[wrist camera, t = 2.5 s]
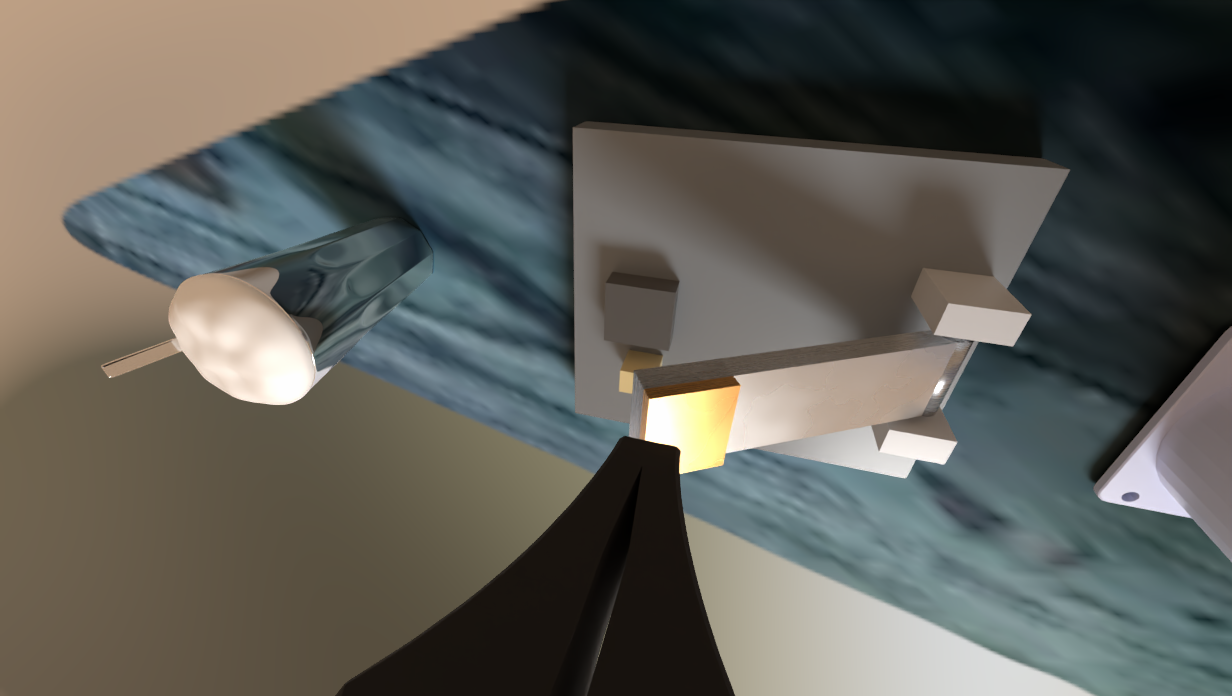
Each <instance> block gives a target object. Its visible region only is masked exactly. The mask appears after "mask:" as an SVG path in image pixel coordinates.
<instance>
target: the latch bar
mask: <svg viewBox="0 0 1232 696" xmlns="http://www.w3.org/2000/svg"><path fill="white" fill-rule="evenodd" d="M973 342H974V341H973V340H966V339H959V338H953V337H946V336H939V335H934V334H933V333H932V331H931V330H927V331H919V332H912V333H905V334H897V335H890V336H882V337H875V338H868V339H860V340H853V341H846V342H838V343H831V344H823V345H816V346H809V347H801V348H794V349H787V350H779V351H772V352H764V353H757V354H750V355H742V356H735V357H727V358H720V359H713V360H705V361H698V362H691V363H683V364H676V365H668V366H661V367H654V368H646V369H639V370H634V375H633V389H632V403H631V416H630V430H629V437H632V438H637V439H642V440H647V441H652V442H657V443H662V444H667V445H672V446H677V447H678V448H679V450H680V451H681V456H680V473H685V472H690V471H695V470H700V469H706V468H711V467H716V466H721V465H723V462H724V457H725V453H729V452H734V451H740V450H745V449H750V448H755V447H761V446H766V445H771V444H776V443H782V442H787V441H792V440H797V439H803V438H808V437H813V436H818V435H824V434H829V433H834V432H839V431H845V430H850V429H855V428H861V427H866V426H871V425H876V424H882V423H887V422H892V421H897V420H903V419H908V418H913V417H918V416H925V417H931V416H934V415H935V414H936V412H937V411H938V409H939V407H940V405H941V403H942V401H943V399H944V397H945V395H946V393H947V392H948V390H949V388H950V386H951V384H952V382H953V380H954V378H955V376H956V374H957V373H958V371H959V369H960V367H961V365H962V363H963V361H964V359H965V357H966V355H967V354H968V352H969V350H970V348H971V346H972V344H973Z"/></svg>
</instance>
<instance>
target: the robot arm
mask: <svg viewBox="0 0 1232 696" xmlns="http://www.w3.org/2000/svg"><path fill="white" fill-rule="evenodd" d="M680 456H681V451H680V450H679V448H678V447H677V446H672V445H667V444H662V443H657V442H652V441H647V440H642V439H637V438H632V437H627V436H624V437H622V438H620V439H619V441H618V442H617V444H616V446H615V447H614V449H613V450H612V452H611V453H610V455H609V456H608V458H607V459H606V461H605V462H604V463H603V465H602V466H601V467H600V469H599V470H598V471H597V473H596V474H595V475H594V477H593V478H592V479H591V480H590V482H589V483H588V484H587V485H586V486H585V488H584V489H583V490H582V491H581V492H580V494H579V495H578V496H577V497H576V498H575V500H574V501H573V502H572V503H571V504H570V505H569V507H568V508H567V509H566V510H565V511H564V512H563V513H562V514H561V515H560V516H559V517H558V518H557V519H556V520H555V521H554V523H553V524H552V525H551V526H550V527H549V528H548V529H547V530H546V531H545V532H544V533H543V534H542V535H541V536H540V537H539V538H538V539H537V540H536V541H535V542H534V543H533V544H532V545H531V546H530V547H529V548H528V549H527V550H526V551H525V552H523V553H522V554H521V555H520V556H519V557H518V558H517V559H516V560H515V561H514V562H512V563H511V564H510V565H509V566H508V567H507V568H506V569H505V570H503V571H502V572H501V573H500V574H498V575H497V576H496V577H495V578H494V579H493V580H491V581H490V582H489V583H488V584H487V585H485V586H484V587H483V588H482V589H481V590H479V591H478V592H477V593H476V594H474V595H473V596H472V597H471V598H469V599H468V600H467V601H466V602H464V603H463V604H462V605H460V606H459V607H457V608H456V609H455V610H453V611H452V612H450V613H449V614H448V615H446V616H445V617H444V618H442V619H441V620H439V621H438V622H437V623H435V624H434V625H433V626H431V627H430V628H428V629H427V630H426V631H424V632H423V633H422V634H420V635H419V636H417V637H416V638H414V639H413V640H412V641H410V642H408V643H407V644H405V645H404V646H402V647H401V648H399V649H398V650H396V651H395V652H393V653H391V654H390V655H388V656H387V657H385V658H384V659H382V660H380V661H379V662H377V663H376V664H374V665H373V666H371V667H370V668H368V669H366V670H365V671H363V672H362V673H360V674H358V675H357V676H355V677H354V678H352V679H351V680H349V681H348V682H347V683H345V684H344V686H343V687H342V688H341V689H340V690H339V692H338V693H337V694H336V695H335V696H735V694H734V692H733V689H732V686H731V683H730V681H729V678H728V676H727V673H726V670H725V667H724V665H723V662H722V659H721V657H720V654H719V651H718V648H717V645H716V642H715V639H714V636H713V633H712V629H711V627H710V624H709V620H708V617H707V613H706V610H705V607H704V603H703V600H702V596H701V593H700V589H699V585H698V581H697V577H696V573H695V570H694V565H693V561H692V556H691V552H690V547H689V542H688V537H687V532H686V526H685V519H684V513H683V506H682V499H681V487H680ZM1093 489H1094V492H1095V493H1096V494H1097V496H1098V497H1099V498H1100V499H1101V500H1103V501H1106V502H1111V503H1116V504H1121V505H1127V506H1132V507H1137V508H1142V509H1147V510H1152V511H1158V512H1163V513H1168V514H1173V515H1178V516H1183V517H1189V518H1192V519H1193V520H1194V521H1195V522H1196V523H1197V524H1198V525H1199V526H1200V528H1201V529H1202V530H1203V531H1204V532H1205V533H1206V534H1207V535H1208V536H1209V537H1210V539H1211V540H1212V541H1213V542H1214V543H1215V544H1216V545H1217V546H1218V547H1219V548H1220V550H1221V551H1222V552H1223V553H1224V554H1225V555H1226V556H1227V557H1228V558H1229V559H1230V561H1231V562H1232V326H1231V327H1230V328H1229V329H1228V330H1226V331H1225V332H1224V333H1223V335H1222V336H1221V337H1220V338H1219V339H1218V340H1217V342H1216V343H1215V344H1214V345H1213V346H1212V348H1211V349H1210V350H1209V351H1208V352H1207V353H1206V355H1205V356H1204V357H1203V358H1202V359H1201V360H1200V362H1199V363H1198V364H1197V365H1196V366H1195V368H1194V369H1193V370H1192V371H1191V372H1190V373H1189V375H1188V376H1187V377H1186V378H1185V379H1184V380H1183V382H1182V383H1181V384H1180V385H1179V386H1178V387H1177V389H1176V390H1175V391H1174V392H1173V393H1172V395H1171V396H1170V397H1169V398H1168V399H1167V400H1166V402H1165V403H1164V404H1163V405H1162V406H1161V407H1160V409H1159V410H1158V411H1157V412H1156V413H1155V415H1154V416H1153V417H1152V418H1151V419H1150V420H1149V422H1148V423H1147V424H1146V425H1145V426H1144V427H1143V429H1142V430H1141V431H1140V432H1139V433H1138V435H1137V436H1136V437H1135V438H1134V439H1133V440H1132V442H1131V443H1130V444H1129V445H1128V446H1127V447H1126V449H1125V450H1124V451H1123V452H1122V453H1121V454H1120V456H1119V457H1118V458H1117V459H1116V460H1115V462H1114V463H1113V464H1112V465H1111V466H1110V467H1109V469H1108V470H1107V471H1106V472H1105V473H1104V474H1103V476H1102V477H1101V478H1100V479H1099V480H1098V482H1097V483H1096V484H1095V486H1094V488H1093ZM1128 492H1129V493H1128ZM610 616H611V617H610ZM609 619H610V620H609ZM608 622H609V624H608ZM607 625H608V628H607ZM606 628H607V631H606ZM605 631H606V634H605ZM604 634H605V638H604V641H603V637H604ZM602 641H603V644H602ZM601 644H602V648H601V651H600V647H601ZM599 651H600V655H599V658H598V654H599ZM597 658H598V661H597ZM596 662H597V664H596ZM595 666H596V667H595ZM594 670H595V671H594Z"/></svg>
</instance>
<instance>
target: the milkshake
mask: <svg viewBox="0 0 1232 696" xmlns="http://www.w3.org/2000/svg"><path fill="white" fill-rule="evenodd" d="M432 273H433V252H432V250H431V248H430V247H429V245H428V243H427V242H426V240H425V238H424V236H423V235H422V233H421V231H419V230H418V229H416V228H415V227H413V226H412V225H410V224H409V223H407V222H406V221H404V220H403V219H401V218H376V219H373V220H370V221H367V222H364V223H361V224H358V225H355V226H352V227H349V228H346V229H343V230H340V231H337V232H334V233H332V234H329V235H326V236H323V237H320V238H317V239H314V240H311V241H308V242H305V243H302V244H299V245H296V246H293V247H290V248H287V249H285V250H282V251H278V252H275V253H272V254H269V255H265V256H262V257H259V258H255V259H252V260H249V261H246V262H242V263H239V264H236V265H232V266H229V267H226V268H222V269H219V270H216V271H212V272H209V273H206V274H203V275H198V276H194V277H191V278H189V279H187V280H185V281H184V282H182V283H181V285H180V286H179V287H178V289H177V291H176V294H175V296H174V297H173V300H172V302H171V304H170V308H169V323H170V326H171V328H172V330H173V332H174V334H175V335H176V338H174V339H171V340H168V341H165V342H163V343H160V344H157V345H154V346H152V347H149V348H146V349H144V350H141V351H138V352H135V353H133V354H130V355H127V356H125V357H122V358H119V359H116V360H114V361H111V362H108V363H106V364H103V365H102V366H101V367H102V369H103V370H104V372H105V373H106V374H107V375H108V376H109V377H110V378H112V377H116V376H118V375H121V374H124V373H126V372H129V371H132V370H134V369H137V368H139V367H142V366H145V365H147V364H150V363H152V362H155V361H157V360H160V359H163V358H166V357H168V356H171V355H173V354H176V353H179V352H181V351H183V352H184V354H185V355H186V356H187V357H188V358H189V360H190V361H191V362H192V363H193V364H194V365H195V367H196V368H197V370H198V371H199V372H200V373H201V375H202V376H203V377H204V378H205V379H206V380H207V381H209V382H211V383H212V384H213V385H215V386H217V387H218V388H220V389H221V390H223V391H225V392H226V393H228V394H230V395H231V396H233V397H235V398H238V399H241V400H245V401H249V402H255V403H265V404H274V405H284V404H289V403H293V402H295V401H297V400H299V399H301V398H302V397H303V396H304V395H305V394H306V393H307V392H308V391H309V390H310V389H311V388H312V387H313V386H314V385H315V384H316V383H317V382H318V381H319V380H320V379H321V378H322V377H323V376H324V375H325V374H326V373H327V372H328V371H329V370H330V369H332V368H333V367H334V366H335V365H336V364H337V363H338V362H339V361H340V360H341V359H342V358H343V357H344V356H345V355H346V354H347V353H348V352H349V351H350V350H351V349H352V348H353V347H354V346H355V345H356V344H357V343H358V341H359V340H360V339H361V338H362V337H363V336H364V335H365V334H366V333H367V332H368V331H370V330H371V329H372V328H373V327H374V326H375V325H376V324H377V323H378V322H380V321H381V320H382V319H383V318H384V317H385V316H386V315H387V314H389V313H390V312H391V311H392V310H393V309H394V308H395V307H397V306H398V305H399V304H400V303H401V302H402V301H403V300H404V299H406V298H407V297H408V296H409V295H410V294H411V293H412V292H413V291H415V290H416V289H417V288H418V287H419V286H420V285H421V284H422V283H423V282H424V281H425V280H426V279H427V278H428V277H429V276H430V275H431V274H432Z"/></svg>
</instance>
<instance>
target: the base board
mask: <svg viewBox="0 0 1232 696" xmlns="http://www.w3.org/2000/svg"><path fill="white" fill-rule="evenodd" d="M1069 171H1070V169H1068V168H1065V167H1063V166H1060V165H1058V164H1056V163H1053V162H1051V161H1048V160H1046V159H1043V158H1032V157H1019V156H1007V155H995V154H983V153H970V152H958V151H946V150H934V149H922V148H909V147H897V146H885V145H873V144H861V143H848V142H836V141H824V140H812V139H799V138H787V137H775V136H763V135H751V134H738V133H726V132H714V131H702V130H689V129H677V128H665V127H653V126H641V125H628V124H616V123H604V122H592V121H586V122H583V123H581V124H579V125H577V126H575V127H573V213H574V327H575V413H579V414H584V415H589V416H594V417H599V418H604V419H609V420H614V421H619V422H624V423H629V424H630V416H631V403H632V389H633V375H634V370H639V369H646V368H654V367H661V366H668V365H676V364H683V363H691V362H698V361H705V360H713V359H720V358H727V357H735V356H742V355H750V354H757V353H764V352H772V351H779V350H787V349H794V348H801V347H809V346H816V345H823V344H831V343H838V342H846V341H853V340H860V339H868V338H875V337H882V336H890V335H897V334H905V333H912V332H919V331H927V330H931V331H932V333H933V334H934V335H939V336H946V337H953V338H959V339H966V340H973V341H974V342H973V344H972V346H971V348H970V350H969V352H968V354H967V355H966V357H965V359H964V361H963V363H962V365H961V367H960V369H959V371H958V373H957V374H956V376H955V378H954V380H953V382H952V384H951V386H950V388H949V390H948V392H947V393H946V395H945V397H944V399H943V401H942V403H941V405H940V407H939V409H938V411H937V412H936V414H935V415H934V416H931V417H925V416H918V417H913V418H908V419H903V420H897V421H892V422H887V423H882V424H876V425H871V426H866V427H861V428H855V429H850V430H845V431H839V432H834V433H829V434H824V435H818V436H813V437H808V438H803V439H797V440H792V441H787V442H782V443H776V444H771V445H766V446H761V447H755V449H760V450H765V451H770V452H775V453H780V454H785V455H790V456H795V457H800V458H805V459H810V460H815V461H820V462H825V463H830V464H835V465H840V466H845V467H850V468H855V469H860V470H866V471H871V472H876V473H881V474H886V475H891V476H896V477H901V478H906V477H907V475H908V474H909V472H910V470H911V468H912V466H913V464H914V462H915V460H916V459H918V460H924V461H929V462H934V463H939V464H945V462H946V461H947V459H948V457H949V456H950V454H951V452H952V450H953V449H954V447H955V445H956V444H957V440H956V438H955V436H954V434H953V432H952V430H951V428H950V426H949V424H948V422H947V420H946V418H945V416H944V414H943V412H942V410H943V408H944V406H945V404H946V402H947V400H948V398H949V397H950V395H951V393H952V391H953V389H954V387H955V385H956V383H957V381H958V380H959V378H960V376H961V374H962V372H963V370H964V368H965V366H966V365H967V363H968V361H969V359H970V357H971V355H972V353H973V351H974V350H975V348H976V346H977V344H978V342H979V341H980V342H987V343H993V344H1000V345H1007V346H1014V344H1015V342H1016V340H1017V339H1018V337H1019V335H1020V334H1021V332H1022V330H1023V328H1024V327H1025V325H1026V323H1027V322H1028V320H1029V318H1030V316H1031V315H1032V314H1031V313H1030V312H1029V311H1028V310H1027V309H1026V308H1025V307H1024V306H1023V305H1022V304H1021V303H1020V302H1019V301H1018V300H1017V299H1016V298H1015V297H1014V296H1013V295H1012V294H1011V293H1010V292H1009V291H1008V290H1007V288H1008V286H1009V284H1010V282H1011V280H1012V278H1013V276H1014V274H1015V273H1016V271H1017V269H1018V267H1019V265H1020V263H1021V261H1022V259H1023V258H1024V256H1025V254H1026V252H1027V250H1028V248H1029V246H1030V244H1031V242H1032V241H1033V239H1034V237H1035V235H1036V233H1037V231H1038V229H1039V227H1040V226H1041V224H1042V222H1043V220H1044V218H1045V216H1046V214H1047V212H1048V211H1049V209H1050V207H1051V205H1052V203H1053V201H1054V199H1055V197H1056V196H1057V194H1058V192H1059V190H1060V188H1061V186H1062V184H1063V182H1064V181H1065V179H1066V177H1067V175H1068V173H1069Z"/></svg>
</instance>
